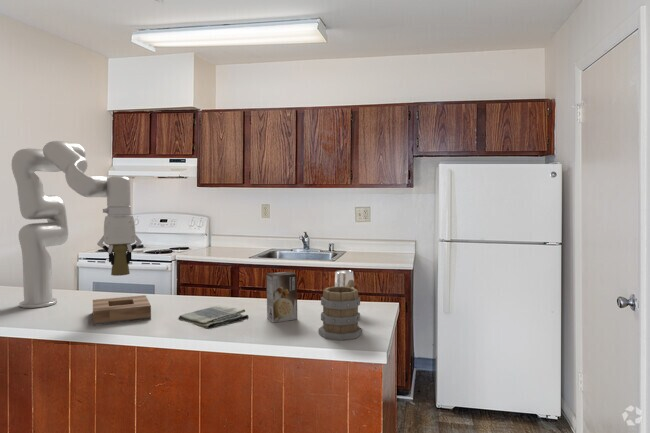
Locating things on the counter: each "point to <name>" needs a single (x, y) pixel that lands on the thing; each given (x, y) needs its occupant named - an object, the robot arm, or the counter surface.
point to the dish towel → (214, 316)
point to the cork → (120, 260)
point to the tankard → (340, 313)
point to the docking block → (121, 310)
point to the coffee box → (281, 296)
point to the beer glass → (343, 277)
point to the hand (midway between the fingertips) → (120, 263)
